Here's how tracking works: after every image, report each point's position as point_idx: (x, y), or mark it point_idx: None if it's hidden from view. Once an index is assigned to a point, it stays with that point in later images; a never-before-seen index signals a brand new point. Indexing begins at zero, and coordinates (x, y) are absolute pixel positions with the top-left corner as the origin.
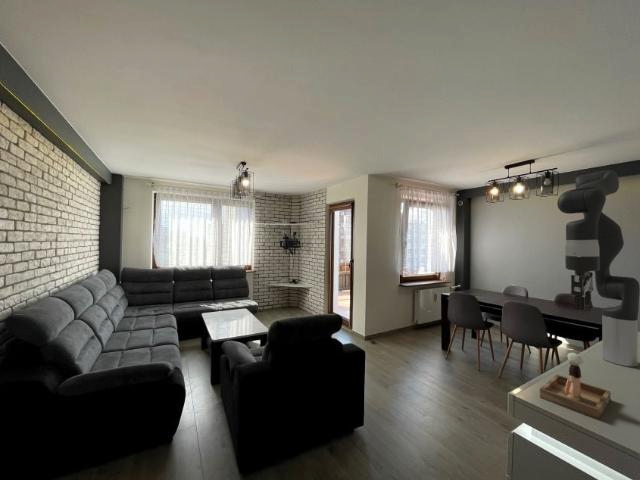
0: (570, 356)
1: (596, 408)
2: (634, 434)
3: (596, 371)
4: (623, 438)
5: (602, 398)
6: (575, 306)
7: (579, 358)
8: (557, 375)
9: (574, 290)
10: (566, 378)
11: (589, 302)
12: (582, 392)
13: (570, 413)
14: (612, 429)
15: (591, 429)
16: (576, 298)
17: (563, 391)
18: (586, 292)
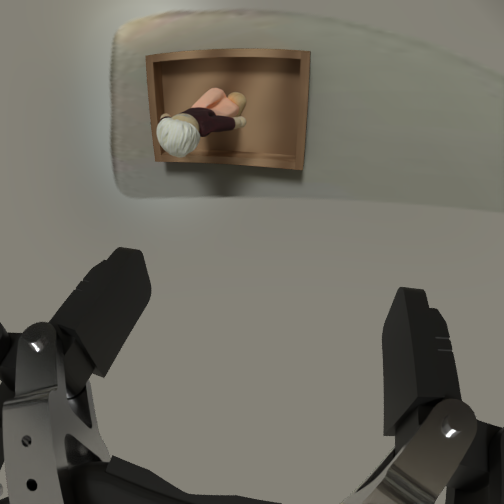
0: (157, 130)
1: (159, 157)
2: (168, 197)
3: (498, 143)
4: (137, 187)
5: (230, 159)
6: (111, 262)
7: (168, 152)
8: (301, 54)
9: (21, 381)
10: (300, 76)
11: (387, 349)
12: (276, 112)
13: (142, 115)
14: (151, 173)
15: (118, 152)
16: (55, 324)
17: (235, 79)
18: (401, 434)
